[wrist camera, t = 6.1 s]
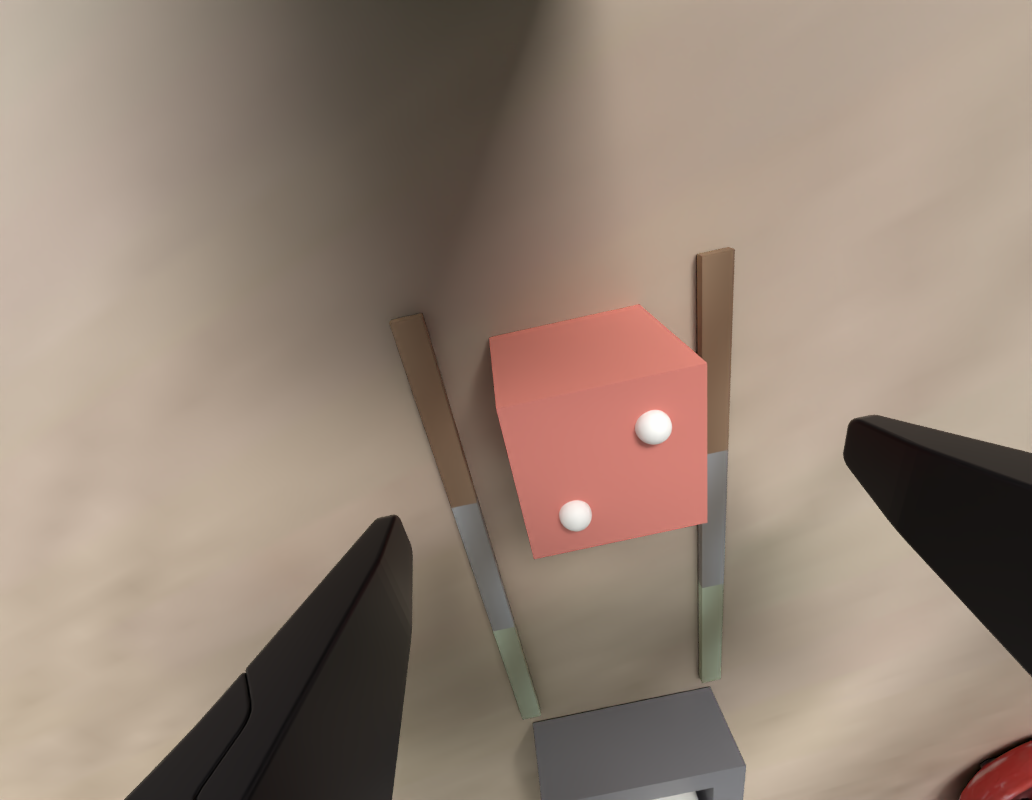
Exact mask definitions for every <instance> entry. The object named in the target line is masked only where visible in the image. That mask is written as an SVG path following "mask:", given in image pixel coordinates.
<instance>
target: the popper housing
mask: <svg viewBox="0 0 1032 800" xmlns="http://www.w3.org/2000/svg"><path fill="white" fill-rule="evenodd" d="M533 729H534V738H535V747H536V756H537V765H538V774H539V783H540V792H541V800H654V799H659V798H664V797H669V796H674V795H679V794H684V793H688V792H693V791H696V794H697V797H698V800H743V794H744V783H745V772H746V764H745V762H744V760H743V758H742V756H741V753H740V751H739V749H738V747H737V745H736V742H735V740H734V738H733V736H732V734H731V731H730V729H729V727H728V725H727V723H726V720H725V718H724V716H723V714H722V712H721V709H720V707H719V705H718V703H717V701H716V698H715V696H714V694H713V692H712V690H711V687H707V688H702V689H697V690H692V691H688V692H683V693H678V694H673V695H668V696H663V697H658V698H653V699H648V700H644V701H639V702H634V703H629V704H624V705H619V706H614V707H609V708H604V709H600V710H595V711H590V712H585V713H580V714H575V715H570V716H565V717H560V718H556V719H551V720H546V721H541V722H536V723H533Z"/></svg>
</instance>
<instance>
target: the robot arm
mask: <svg viewBox="0 0 1032 800" xmlns="http://www.w3.org/2000/svg"><path fill="white" fill-rule="evenodd" d="M843 456H844V460H845V463H846V465H847V466H848V468H849V469H850V470H851V472H852V473H853V474H854V476H855V477H856V478H857V480H858V481H859V482H860V484H861V485H862V486H863V488H864V489H865V490H866V492H867V493H868V494H869V495H870V497H871V498H872V499H873V501H874V502H875V503H876V505H877V506H878V507H879V509H880V510H881V511H882V513H883V514H884V515H885V517H886V518H887V519H888V520H889V522H890V523H891V524H892V525H893V527H894V528H895V529H896V530H897V531H898V533H899V534H900V535H901V536H902V537H903V538H904V539H905V540H906V542H907V543H908V544H909V545H910V546H911V547H912V548H913V549H914V550H915V551H916V552H917V553H918V555H919V556H920V557H921V558H922V559H923V560H924V561H925V562H926V563H927V564H928V565H929V566H930V568H931V569H932V570H933V571H934V572H935V573H936V574H937V575H938V576H939V577H940V578H941V579H942V580H943V582H944V583H945V584H946V585H947V586H948V587H949V588H950V589H951V590H952V591H953V592H954V593H955V595H956V596H957V597H958V598H959V599H960V600H961V601H962V602H963V603H964V604H965V605H966V606H967V608H968V609H969V610H970V611H971V612H972V613H973V614H974V615H975V616H976V617H977V618H978V619H979V620H980V622H981V623H982V624H983V625H984V626H985V627H986V628H987V629H988V630H989V631H990V632H991V633H992V635H993V636H994V637H995V638H996V639H997V640H998V641H999V642H1000V643H1001V644H1002V645H1003V646H1004V648H1005V649H1006V650H1007V651H1008V652H1009V653H1010V654H1011V655H1012V656H1013V657H1014V658H1015V659H1016V660H1017V662H1018V663H1019V664H1020V665H1021V666H1022V667H1023V668H1024V669H1025V670H1026V671H1027V672H1028V673H1029V675H1030V676H1031V677H1032V453H1029V452H1025V451H1021V450H1017V449H1013V448H1009V447H1005V446H1001V445H997V444H993V443H989V442H985V441H980V440H976V439H972V438H968V437H964V436H960V435H956V434H952V433H948V432H944V431H940V430H936V429H932V428H928V427H924V426H920V425H916V424H911V423H907V422H903V421H899V420H895V419H891V418H887V417H883V416H879V415H868V416H864V417H859V418H855V419H853V420H851V421H850V423H849V425H848V429H847V434H846V440H845V446H844V451H843ZM412 571H413V555H412V547H411V544H410V541H409V539H408V536H407V534H406V532H405V529H404V527H403V524H402V522H401V520H400V518H399V517H398V516H397V515H390V516H385V517H380V518H377V519H376V520H375V521H374V522H373V523H372V524H371V525H370V526H369V527H368V529H367V530H366V531H365V532H364V533H363V534H362V536H361V537H360V538H359V539H358V540H357V541H356V542H355V544H354V545H353V546H352V547H351V548H350V549H349V551H348V552H347V553H346V554H345V555H344V556H343V557H342V559H341V560H340V561H339V562H338V563H337V564H336V566H335V567H334V568H333V569H332V570H331V571H330V572H329V574H328V575H327V576H326V577H325V578H324V579H323V581H322V582H321V583H320V584H319V585H318V586H317V587H316V589H315V590H314V591H313V592H312V593H311V594H310V595H309V597H308V598H307V599H306V600H305V601H304V602H303V604H302V605H301V606H300V607H299V608H298V609H297V610H296V612H295V613H294V614H293V615H292V616H291V617H290V619H289V620H288V621H287V622H286V623H285V624H284V625H283V627H282V628H281V629H280V630H279V631H278V632H277V634H276V635H275V636H274V637H273V638H272V639H271V640H270V642H269V643H268V644H267V645H266V646H265V647H264V648H263V650H262V651H261V652H260V653H259V654H258V655H257V657H256V658H255V659H254V660H253V661H252V662H251V663H250V665H249V666H248V667H247V668H246V673H242V674H241V675H240V676H239V677H238V678H237V679H236V681H235V682H234V683H233V684H232V685H231V686H230V687H229V689H228V690H227V691H226V692H225V693H224V694H223V695H222V697H221V698H220V699H219V700H218V701H217V702H216V703H215V704H214V705H213V707H212V708H211V709H210V710H209V711H208V712H207V713H206V714H205V715H204V717H203V718H202V719H201V720H200V721H199V722H198V723H197V724H196V726H195V727H194V728H193V729H192V730H191V731H190V732H189V733H188V734H187V735H186V736H185V737H184V738H183V739H182V740H181V741H180V742H179V743H178V745H177V746H176V747H175V748H174V749H173V750H172V751H171V752H170V753H169V754H168V755H167V756H166V757H165V758H164V759H163V760H162V761H161V762H160V763H159V764H158V766H157V767H156V768H155V769H154V770H153V771H152V772H151V773H150V774H149V775H148V776H147V777H146V778H145V779H144V780H143V781H142V782H141V783H140V784H139V785H138V786H137V787H136V788H135V789H134V790H133V791H132V792H131V793H130V794H129V795H128V796H127V797H126V798H125V799H124V800H392V794H393V786H394V777H395V769H396V761H397V752H398V744H399V736H400V727H401V719H402V711H403V702H404V694H405V686H406V677H407V669H408V661H409V652H410V644H411V634H412Z"/></svg>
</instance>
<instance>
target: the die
mask: <svg viewBox="0 0 1032 800" xmlns="http://www.w3.org/2000/svg"><path fill="white" fill-rule="evenodd" d="M489 342H490V352H491V362H492V372H493V382H494V392H495V402H496V410H497V414H498V418H499V422H500V426H501V430H502V434H503V438H504V442H505V446H506V450H507V454H508V458H509V462H510V466H511V470H512V474H513V478H514V482H515V486H516V490H517V494H518V498H519V502H520V506H521V510H522V514H523V518H524V522H525V526H526V530H527V533H528V537H529V541H530V545H531V549H532V553H533V557H534V559H538V558H542V557H547V556H552V555H557V554H561V553H566V552H571V551H576V550H580V549H585V548H590V547H594V546H599V545H604V544H609V543H613V542H618V541H623V540H628V539H632V538H637V537H642V536H647V535H651V534H656V533H661V532H666V531H670V530H675V529H680V528H685V527H689V526H694V525H699V524H703V523H707V363H706V362H705V361H704V360H703V359H702V358H701V357H700V356H698V355H697V354H696V353H695V352H694V351H693V350H691V349H690V348H689V347H688V346H687V345H686V344H685V343H683V342H682V341H681V340H680V339H679V338H678V337H676V336H675V335H674V334H673V333H672V332H671V331H669V330H668V329H667V328H666V327H665V326H664V325H663V324H661V323H660V322H659V321H658V320H657V319H656V318H654V317H653V316H652V315H651V314H650V313H649V312H647V311H646V310H645V309H644V308H643V307H642V306H641V305H639V304H638V305H634V306H629V307H625V308H620V309H616V310H611V311H607V312H602V313H598V314H593V315H588V316H584V317H579V318H575V319H570V320H566V321H561V322H557V323H552V324H547V325H543V326H538V327H534V328H529V329H525V330H520V331H516V332H511V333H507V334H502V335H497V336H493V337H489Z"/></svg>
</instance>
